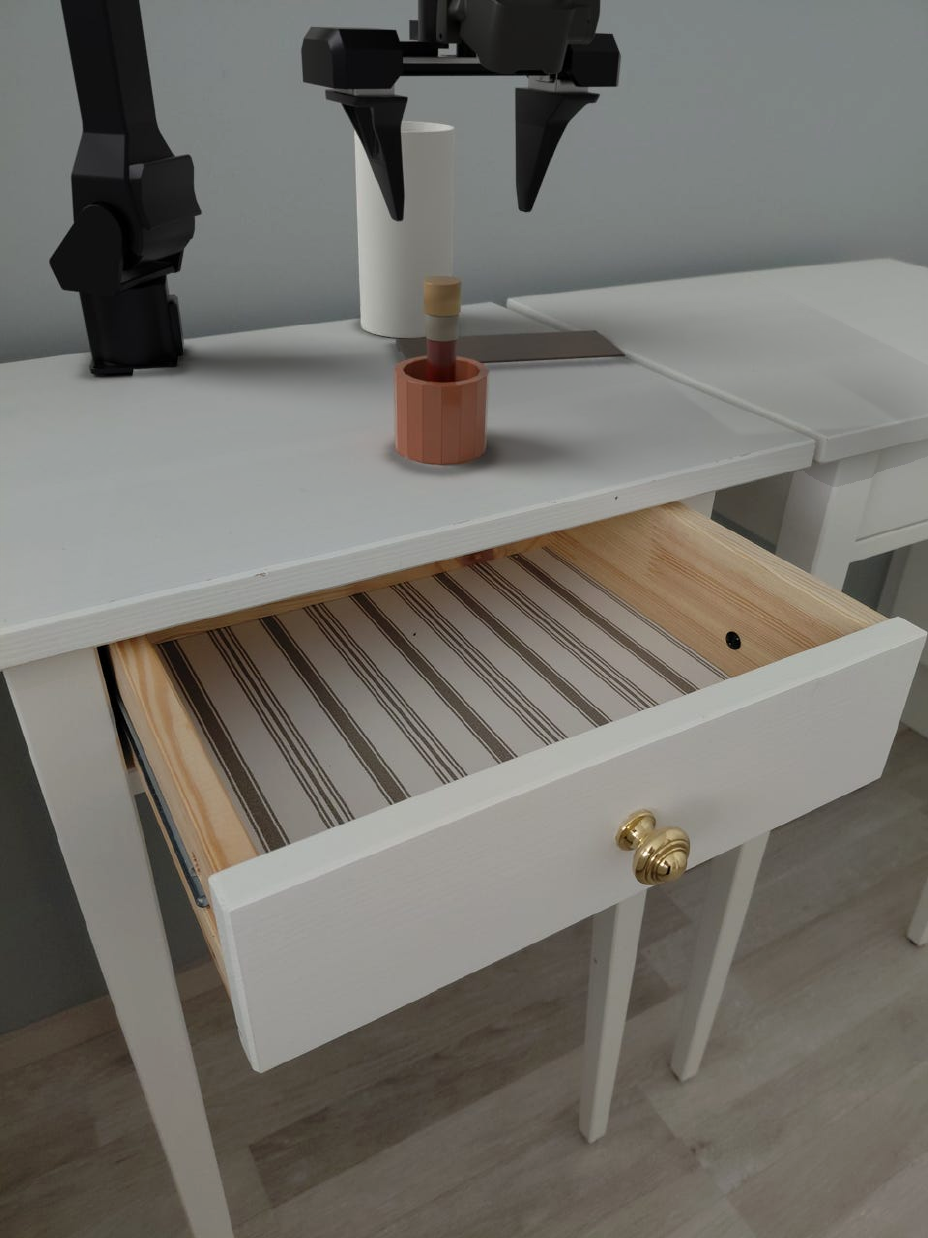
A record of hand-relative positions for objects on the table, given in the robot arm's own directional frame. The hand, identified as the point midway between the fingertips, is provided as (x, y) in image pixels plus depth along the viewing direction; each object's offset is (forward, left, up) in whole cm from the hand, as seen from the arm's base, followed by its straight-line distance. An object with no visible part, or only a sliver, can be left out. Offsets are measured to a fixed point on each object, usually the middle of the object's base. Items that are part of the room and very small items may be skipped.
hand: (462, 215), depth 60 cm
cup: (0, +21, -13) cm, 25 cm away
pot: (-3, -8, -13) cm, 15 cm away
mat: (+7, +12, -13) cm, 19 cm away
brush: (-3, -8, -12) cm, 15 cm away
